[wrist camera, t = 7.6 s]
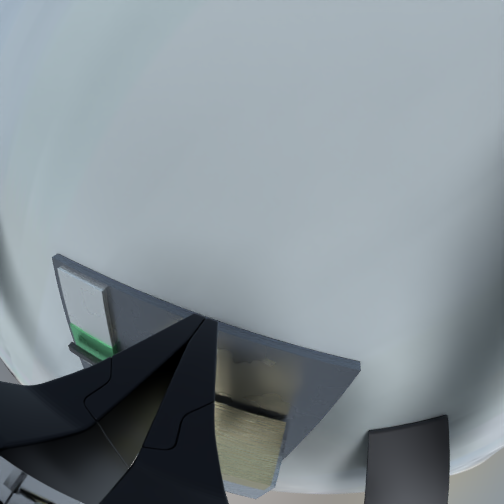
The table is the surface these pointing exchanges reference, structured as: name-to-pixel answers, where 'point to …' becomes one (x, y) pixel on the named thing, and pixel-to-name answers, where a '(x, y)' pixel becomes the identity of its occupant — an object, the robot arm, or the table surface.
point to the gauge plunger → (237, 440)
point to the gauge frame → (228, 355)
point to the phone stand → (409, 464)
